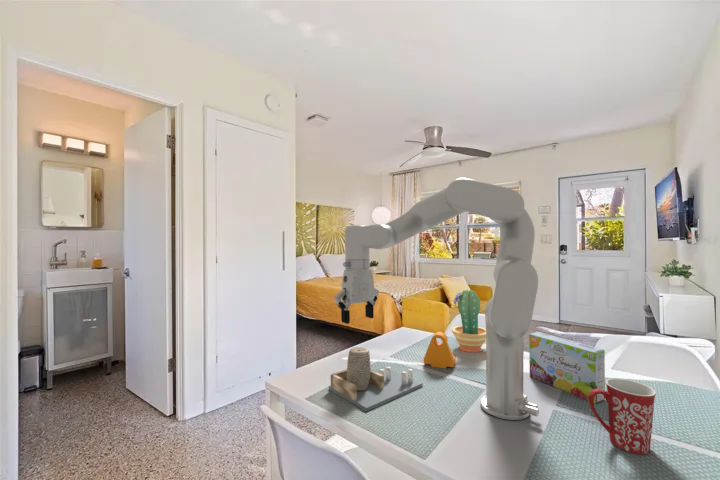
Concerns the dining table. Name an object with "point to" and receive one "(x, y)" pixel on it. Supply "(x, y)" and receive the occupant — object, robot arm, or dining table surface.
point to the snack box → (567, 365)
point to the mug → (627, 414)
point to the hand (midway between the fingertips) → (357, 320)
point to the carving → (359, 367)
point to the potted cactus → (469, 322)
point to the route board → (384, 389)
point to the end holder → (350, 389)
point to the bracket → (439, 352)
